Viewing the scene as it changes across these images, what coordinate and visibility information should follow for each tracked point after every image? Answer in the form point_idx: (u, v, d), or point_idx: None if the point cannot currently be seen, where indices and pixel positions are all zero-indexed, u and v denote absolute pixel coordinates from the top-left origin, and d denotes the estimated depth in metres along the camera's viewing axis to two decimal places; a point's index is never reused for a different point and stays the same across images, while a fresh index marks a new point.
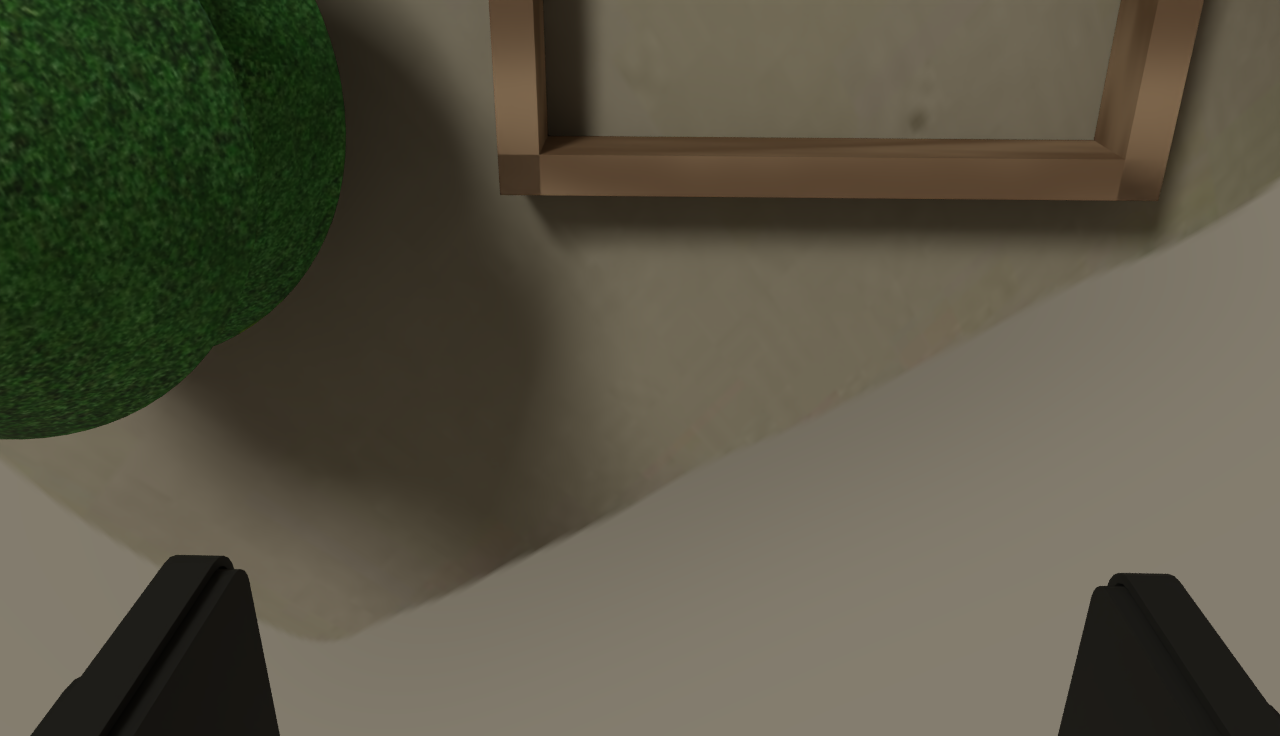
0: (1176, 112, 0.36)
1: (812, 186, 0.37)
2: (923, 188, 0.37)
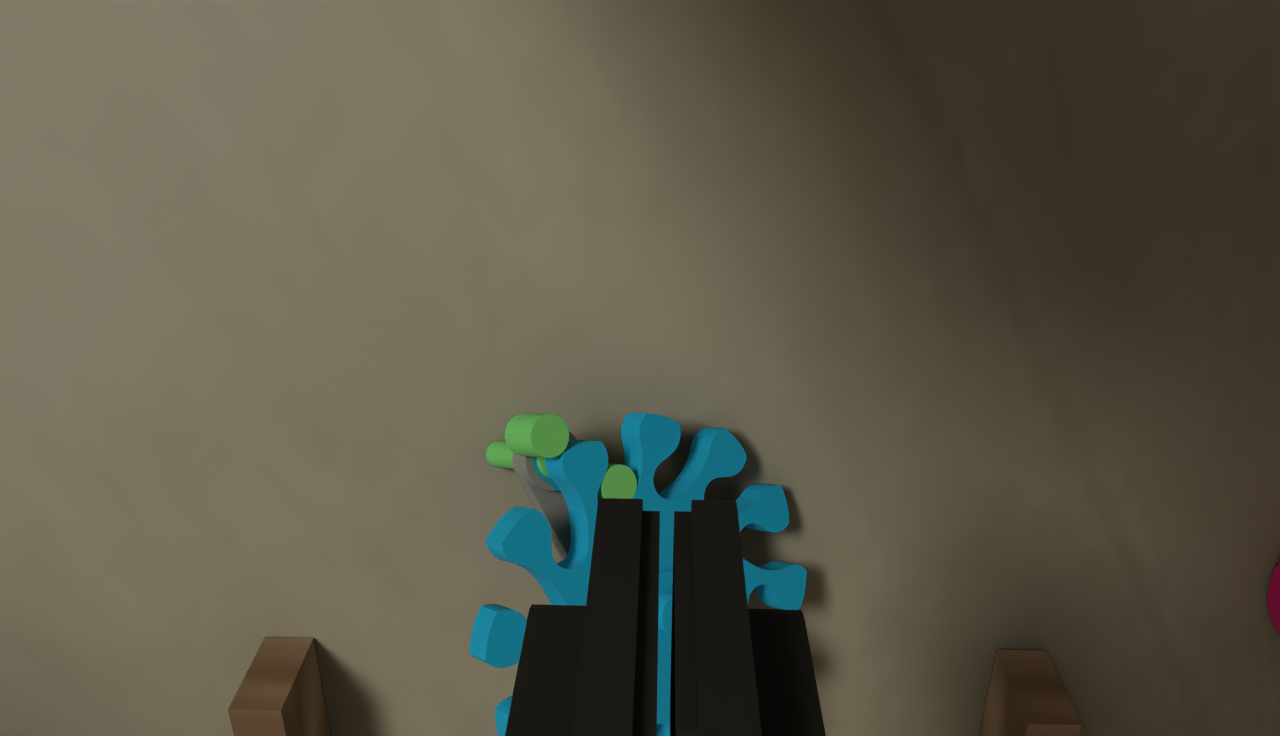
0: None
1: None
2: None
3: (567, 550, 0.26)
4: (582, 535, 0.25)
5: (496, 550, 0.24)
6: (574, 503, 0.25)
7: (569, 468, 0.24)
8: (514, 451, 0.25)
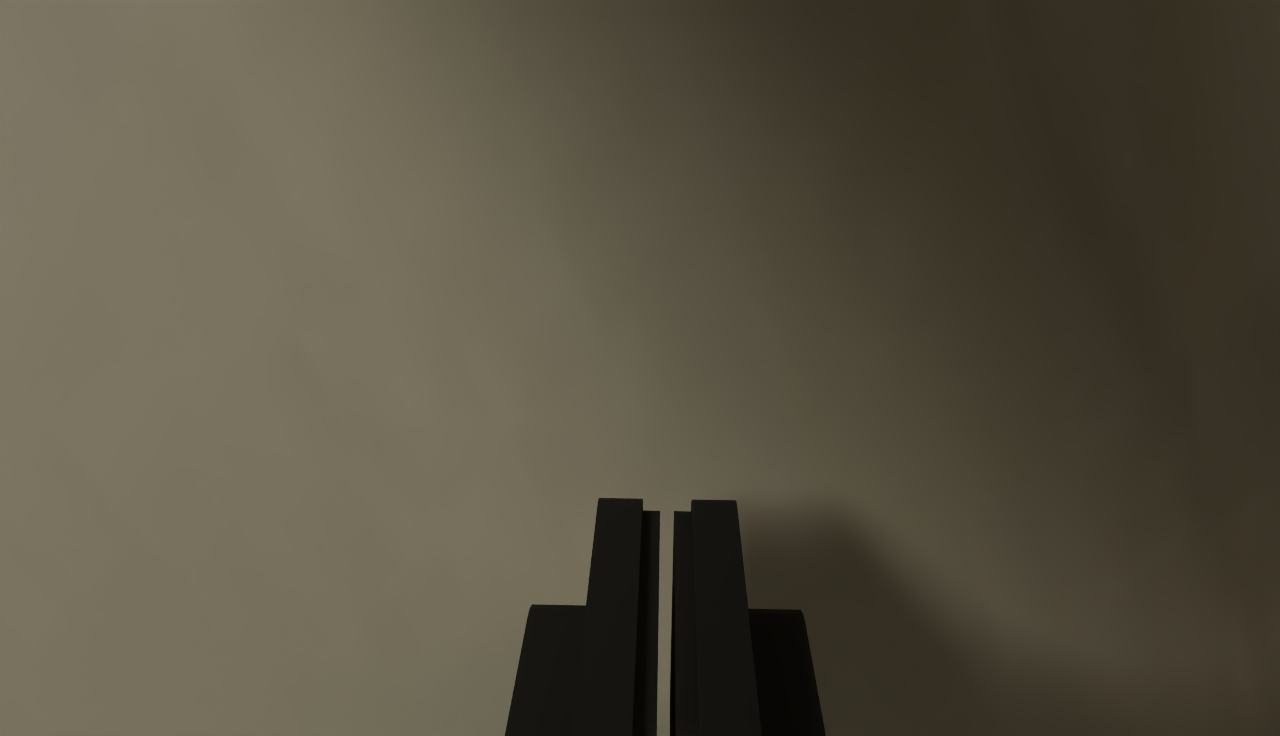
0: None
1: None
2: None
3: None
4: None
5: None
6: None
7: None
8: None
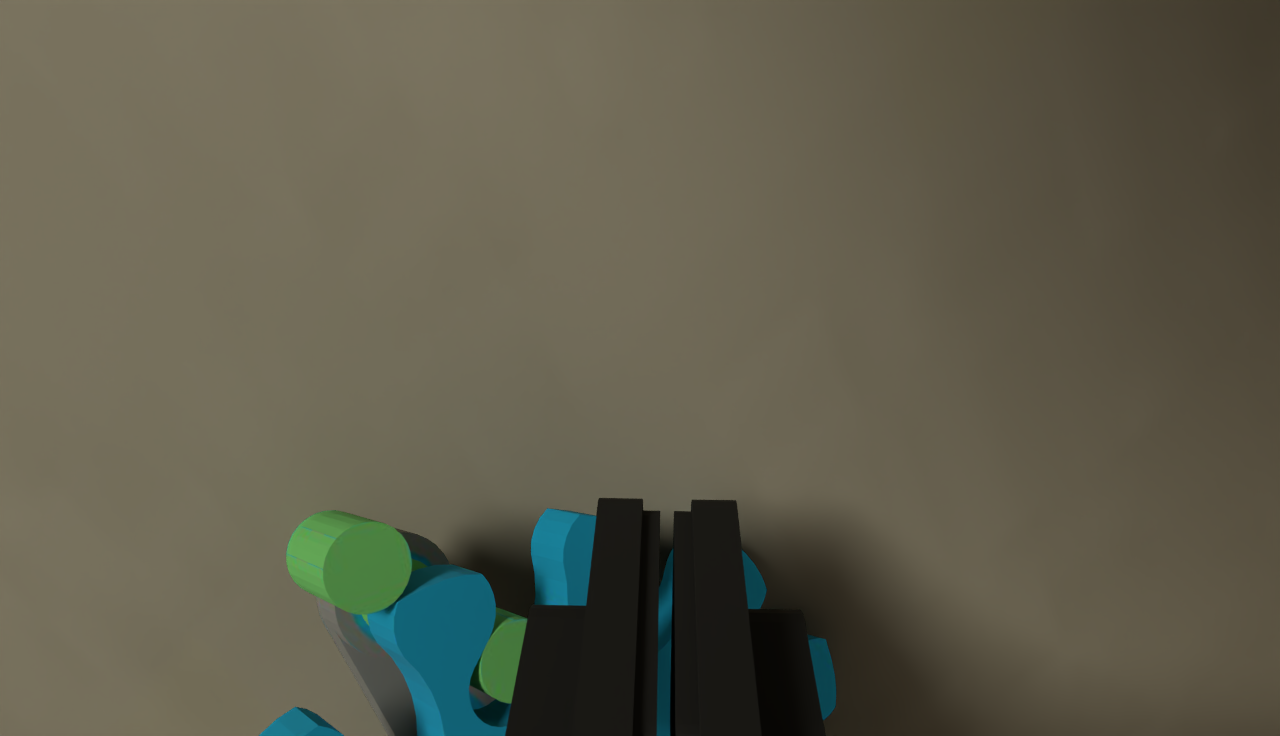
0: None
1: None
2: None
3: None
4: None
5: None
6: (422, 698, 0.12)
7: (409, 633, 0.12)
8: (304, 589, 0.12)
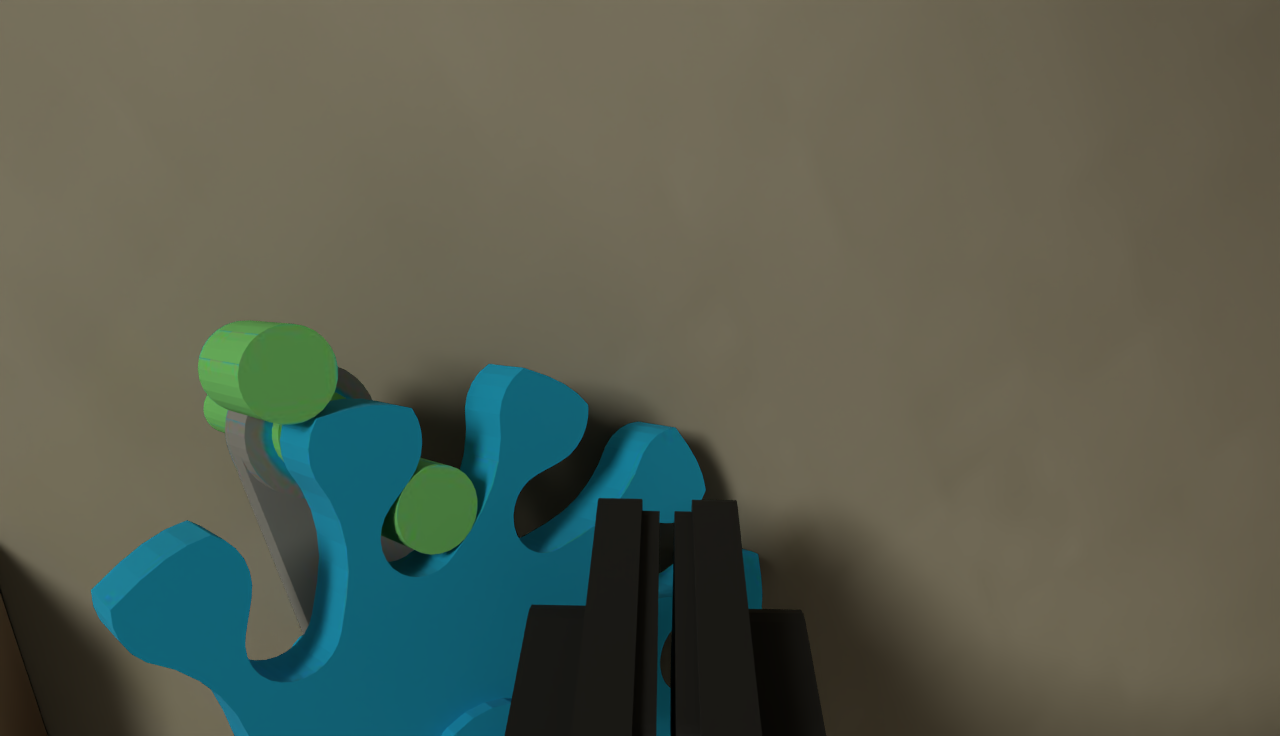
0: None
1: None
2: None
3: None
4: (334, 606, 0.11)
5: (103, 618, 0.10)
6: (329, 533, 0.11)
7: (324, 454, 0.11)
8: (214, 398, 0.11)
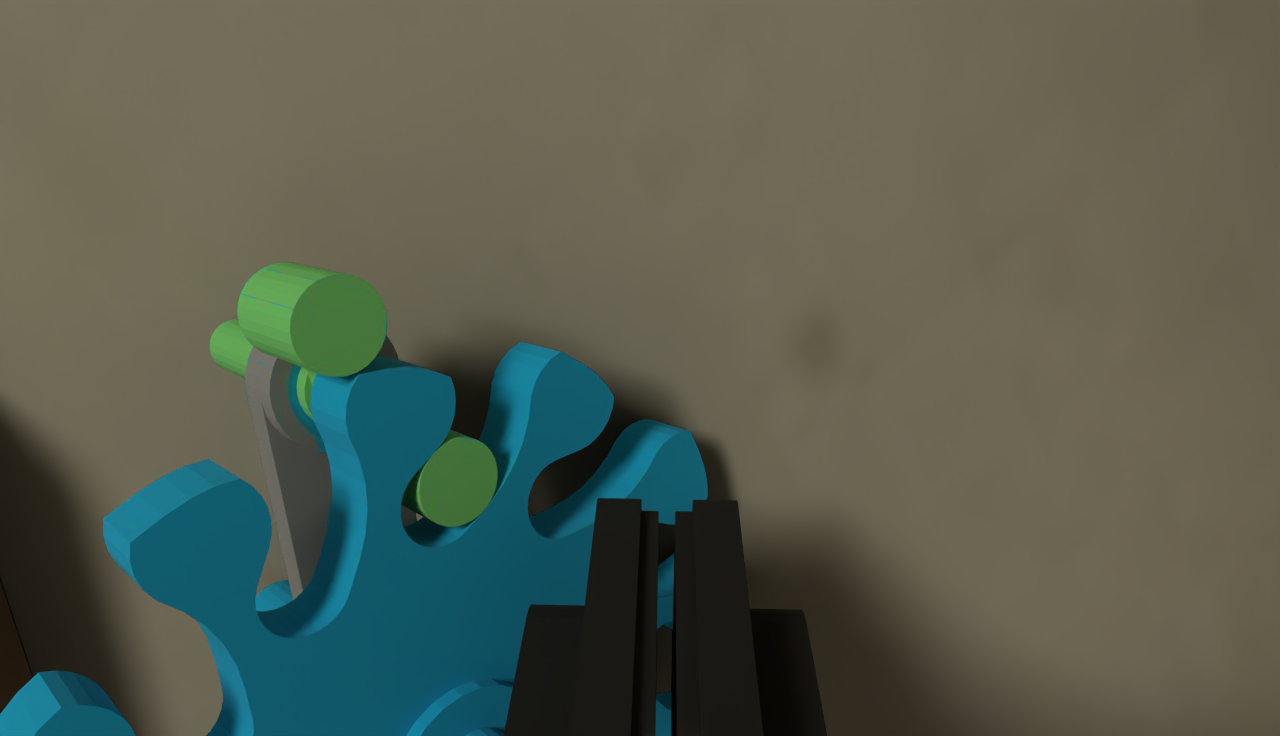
0: None
1: None
2: None
3: (306, 579, 0.12)
4: (343, 566, 0.11)
5: (116, 550, 0.09)
6: (348, 492, 0.11)
7: (360, 413, 0.10)
8: (250, 338, 0.11)
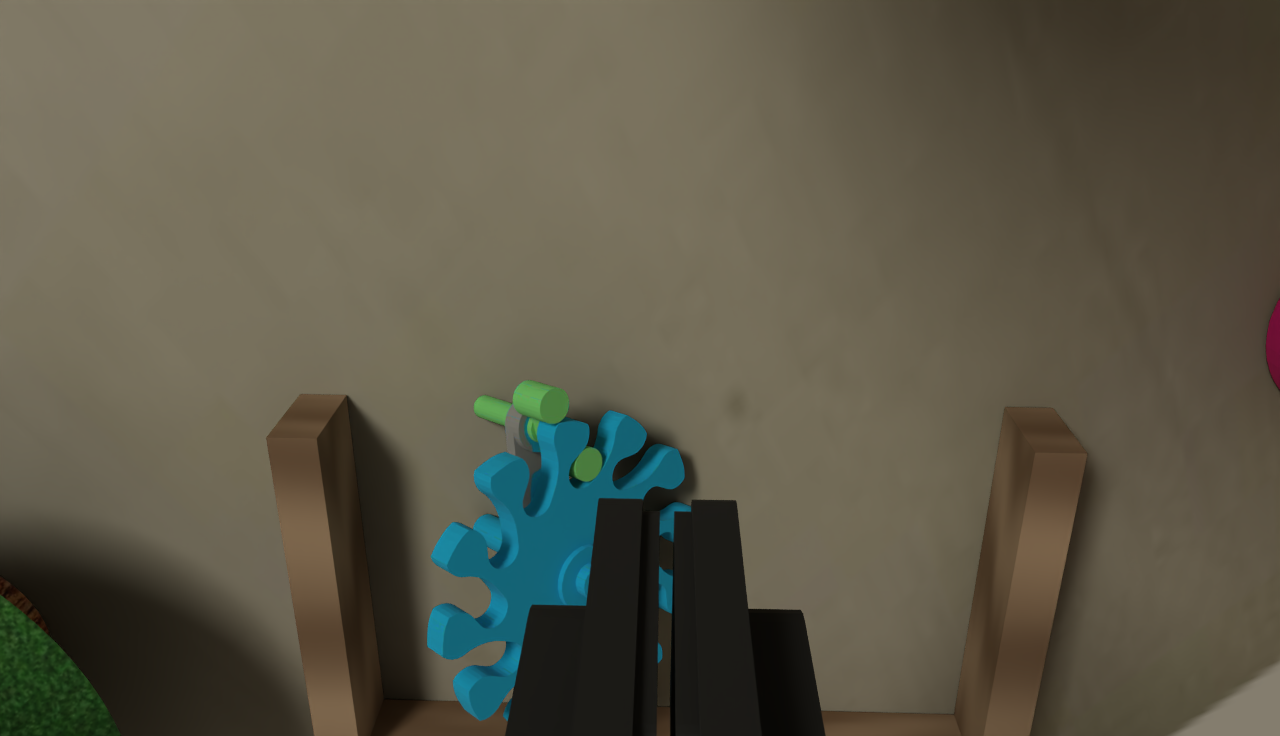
0: None
1: None
2: None
3: None
4: (547, 494, 0.30)
5: (482, 480, 0.28)
6: (549, 466, 0.30)
7: (558, 436, 0.29)
8: (517, 408, 0.29)
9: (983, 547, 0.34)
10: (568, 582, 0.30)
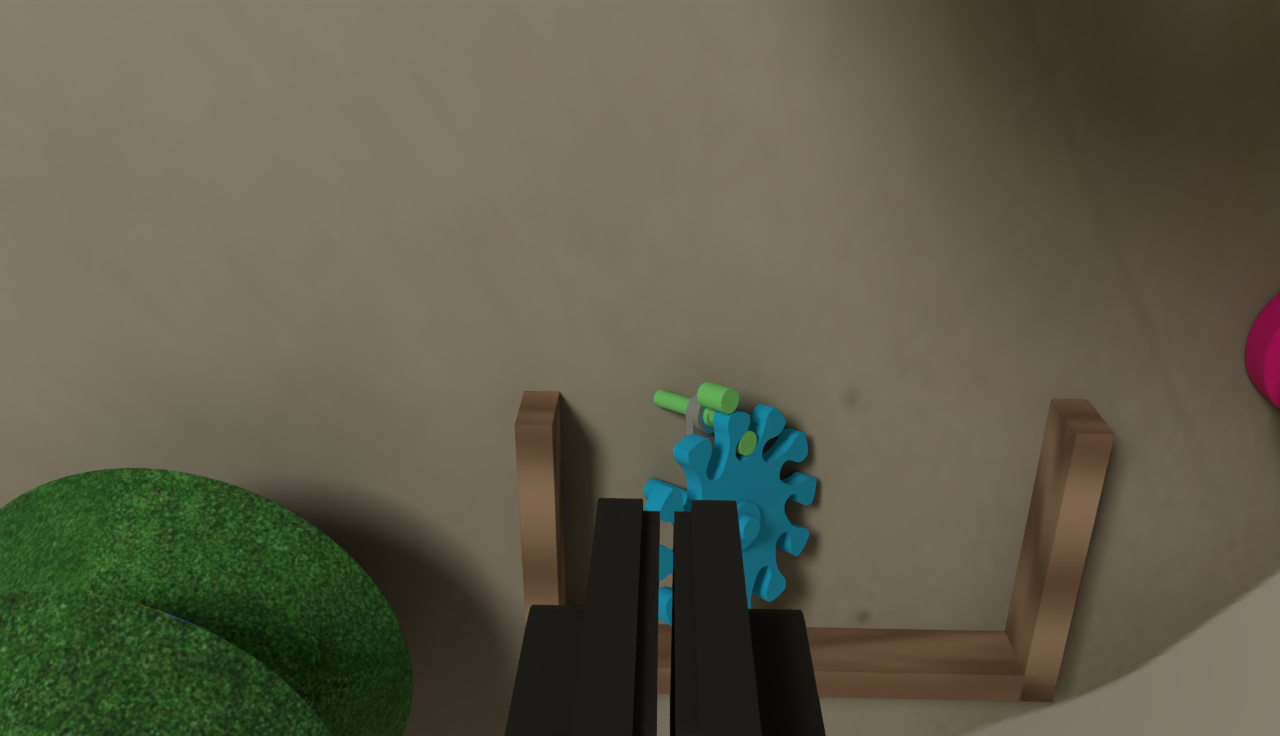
0: (1063, 647, 0.45)
1: None
2: (865, 691, 0.47)
3: None
4: (719, 464, 0.41)
5: (680, 454, 0.39)
6: (721, 444, 0.41)
7: (731, 423, 0.40)
8: (700, 401, 0.41)
9: (1032, 503, 0.46)
10: None
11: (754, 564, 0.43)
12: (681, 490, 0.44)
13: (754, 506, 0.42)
